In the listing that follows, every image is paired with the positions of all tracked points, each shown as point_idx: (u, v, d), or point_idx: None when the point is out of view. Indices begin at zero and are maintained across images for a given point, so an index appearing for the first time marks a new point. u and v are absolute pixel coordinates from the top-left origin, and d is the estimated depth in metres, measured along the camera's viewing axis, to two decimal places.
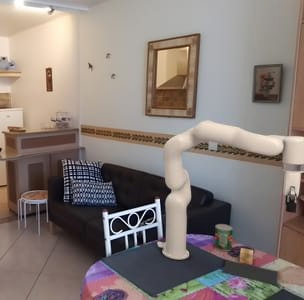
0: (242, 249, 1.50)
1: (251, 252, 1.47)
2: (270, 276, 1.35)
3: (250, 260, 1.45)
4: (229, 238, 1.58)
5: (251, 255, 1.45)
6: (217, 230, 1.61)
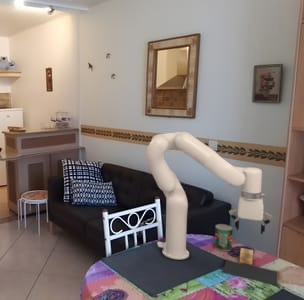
0: (242, 249, 1.50)
1: (251, 252, 1.47)
2: (270, 276, 1.35)
3: (250, 260, 1.45)
4: (229, 238, 1.58)
5: (251, 255, 1.45)
6: (217, 230, 1.61)
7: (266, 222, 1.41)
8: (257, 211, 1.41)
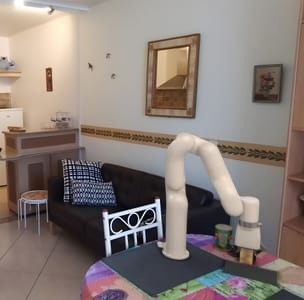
0: (242, 249, 1.50)
1: (251, 252, 1.47)
2: (270, 276, 1.35)
3: (250, 260, 1.45)
4: (229, 238, 1.58)
5: (251, 255, 1.45)
6: (217, 230, 1.61)
7: (257, 252, 1.45)
8: (254, 240, 1.43)
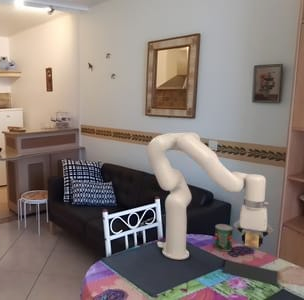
0: (247, 232, 1.39)
1: (257, 234, 1.35)
2: (270, 276, 1.35)
3: (256, 243, 1.34)
4: (229, 238, 1.58)
5: (257, 237, 1.34)
6: (217, 230, 1.61)
7: (264, 234, 1.34)
8: (260, 221, 1.32)
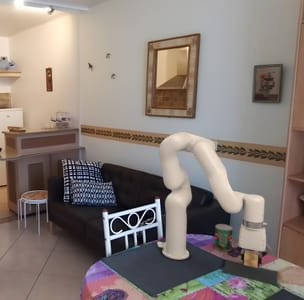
0: (246, 251, 1.40)
1: (256, 254, 1.36)
2: (270, 276, 1.35)
3: (255, 263, 1.35)
4: (229, 238, 1.58)
5: (256, 257, 1.35)
6: (217, 230, 1.61)
7: (263, 254, 1.35)
8: (259, 241, 1.33)
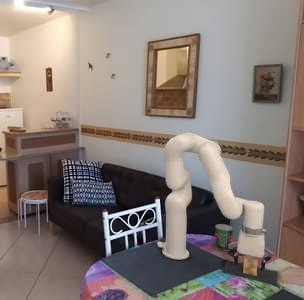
0: (246, 259, 1.40)
1: (255, 262, 1.37)
2: (270, 276, 1.35)
3: (254, 271, 1.36)
4: (229, 238, 1.58)
5: (255, 265, 1.35)
6: (217, 230, 1.61)
7: (267, 259, 1.34)
8: (258, 247, 1.34)
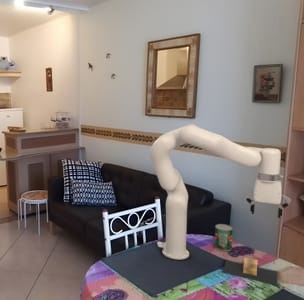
0: (246, 259, 1.40)
1: (255, 262, 1.37)
2: (270, 276, 1.35)
3: (254, 271, 1.36)
4: (229, 238, 1.58)
5: (255, 265, 1.35)
6: (217, 230, 1.61)
7: (284, 206, 1.34)
8: (275, 194, 1.34)
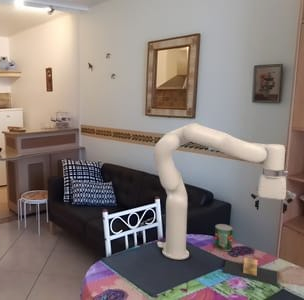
0: (246, 259, 1.40)
1: (255, 262, 1.37)
2: (270, 276, 1.35)
3: (254, 271, 1.36)
4: (229, 238, 1.58)
5: (255, 265, 1.35)
6: (217, 230, 1.61)
7: (289, 201, 1.35)
8: (279, 189, 1.35)
